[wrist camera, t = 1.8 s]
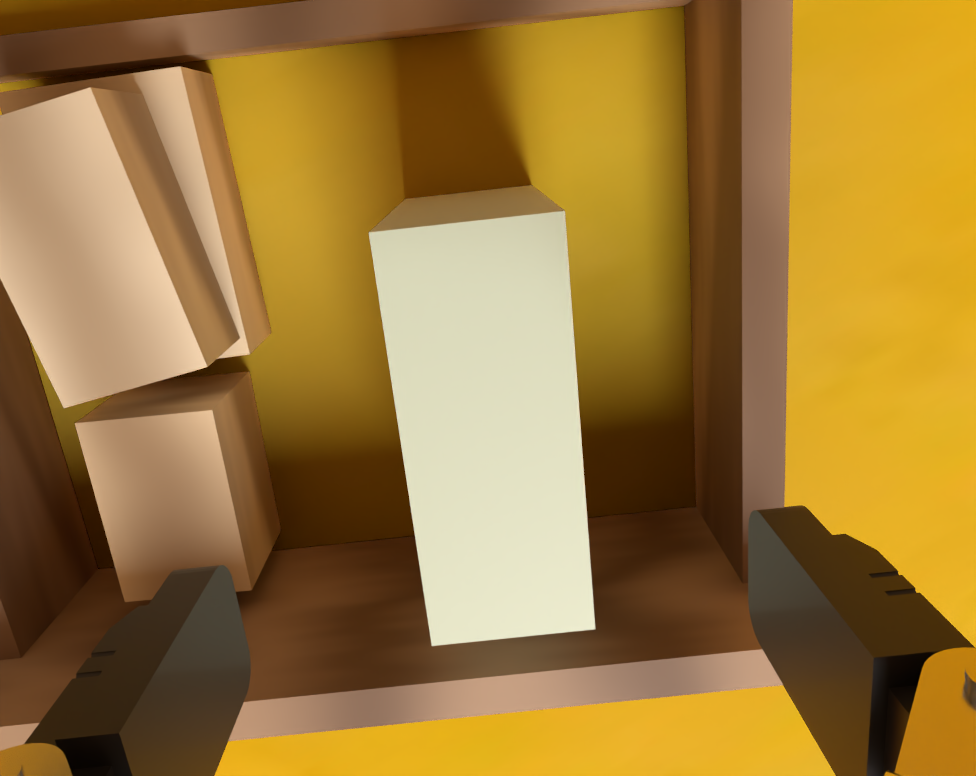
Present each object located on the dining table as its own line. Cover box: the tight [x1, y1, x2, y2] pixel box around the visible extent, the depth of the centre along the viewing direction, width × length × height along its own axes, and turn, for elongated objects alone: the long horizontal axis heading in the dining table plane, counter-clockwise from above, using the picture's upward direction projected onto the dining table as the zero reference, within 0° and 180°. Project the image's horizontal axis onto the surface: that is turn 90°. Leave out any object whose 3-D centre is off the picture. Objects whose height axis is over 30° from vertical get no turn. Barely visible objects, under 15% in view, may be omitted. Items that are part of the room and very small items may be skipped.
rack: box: [0, 0, 793, 751], centre depth 21 cm, size 24×19×8 cm
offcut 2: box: [0, 87, 240, 408], centre depth 20 cm, size 4×7×3 cm, turn 16°
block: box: [369, 185, 595, 646], centre depth 21 cm, size 4×10×9 cm, turn 6°
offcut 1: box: [0, 66, 271, 359], centre depth 23 cm, size 5×8×3 cm, turn 8°
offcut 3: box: [75, 371, 281, 602], centre depth 25 cm, size 4×6×4 cm, turn 6°
